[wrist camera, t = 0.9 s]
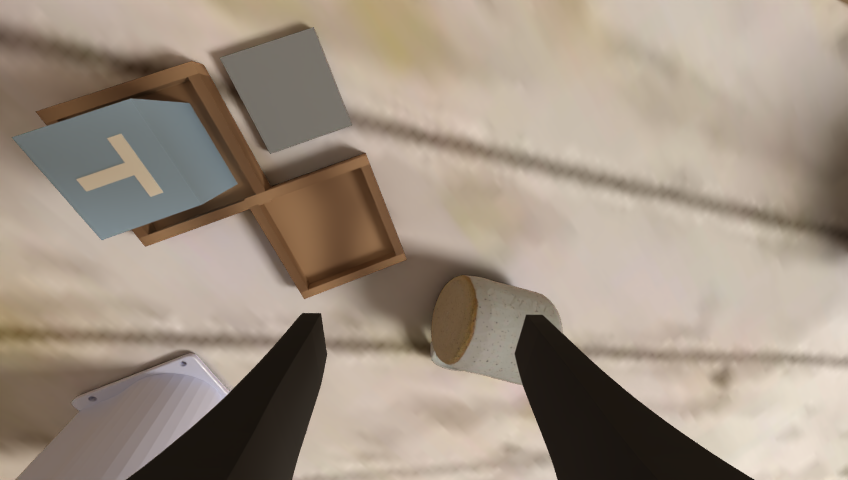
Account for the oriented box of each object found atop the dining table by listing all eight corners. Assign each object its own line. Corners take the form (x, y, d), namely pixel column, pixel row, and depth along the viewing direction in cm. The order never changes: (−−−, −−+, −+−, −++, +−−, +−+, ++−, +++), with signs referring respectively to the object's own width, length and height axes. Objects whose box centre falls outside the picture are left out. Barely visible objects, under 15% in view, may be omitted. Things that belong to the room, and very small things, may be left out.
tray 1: (158, 238, 20) (145, 246, 19) (59, 111, 17) (35, 111, 15) (276, 196, 21) (270, 201, 19) (204, 65, 17) (191, 61, 16)
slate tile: (272, 152, 20) (270, 154, 19) (223, 59, 17) (219, 57, 17) (352, 125, 20) (352, 125, 19) (314, 29, 18) (313, 27, 17)
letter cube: (161, 210, 19) (100, 240, 15) (102, 130, 17) (8, 136, 12) (237, 183, 19) (201, 204, 15) (188, 101, 17) (128, 96, 13)
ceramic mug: (450, 255, 25) (484, 309, 18) (528, 276, 28) (584, 332, 21) (407, 351, 29) (423, 429, 22) (481, 363, 31) (516, 436, 24)
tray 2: (307, 289, 24) (304, 299, 22) (251, 193, 20) (243, 198, 19) (404, 252, 24) (406, 259, 23) (365, 152, 21) (365, 155, 20)
